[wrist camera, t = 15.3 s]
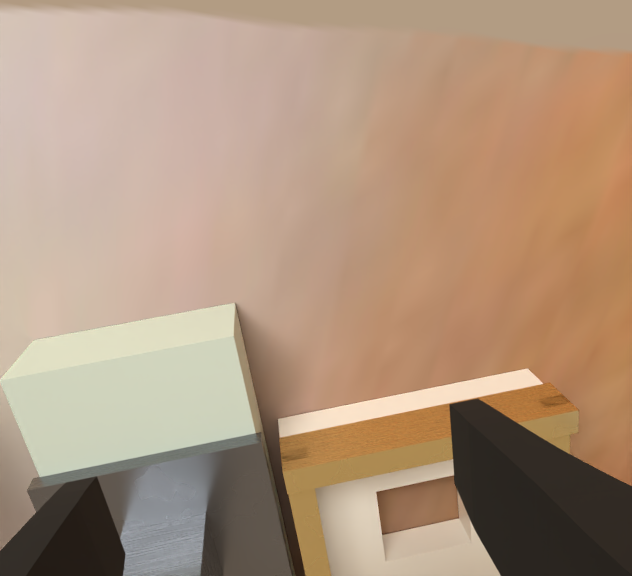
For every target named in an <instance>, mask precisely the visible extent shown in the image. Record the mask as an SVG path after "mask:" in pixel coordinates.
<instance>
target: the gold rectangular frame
mask: <svg viewBox="0 0 632 576" xmlns="http://www.w3.org/2000/svg"><path fill="white" fill-rule="evenodd" d="M477 398H478V399H480V400H481V401H483V402H485V403H486V404H488V405H490V406H491V407H493V408H494V409H496V410H498V411H499V412H501V413H502V414H504V415H505V416H507V417H509V418H510V419H512V420H513V421H515V422H517V423H518V424H520V425H521V426H523V427H525V428H526V429H528V430H529V431H531V432H533V433H534V434H536V435H538V436H539V437H541V438H543V439H544V440H546V441H548V442H549V443H551V444H553V445H555V446H556V447H558V448H560V449H561V450H563V451H565V452H567V453H568V454H570V434H575V433H578V424H579V410H578V409H577V408H576V407H575V406H574V405H573V404H572V403H571V402H570V401H569V400H568V399H567V398H565V397H564V396H563V395H562V394H561V393H560V392H559V391H558V390H557V389H556V388H555V387H554V386H553V385H552V384H551V383H545V384H540V385H536V386H531V387H526V388H521V389H516V390H511V391H506V392H501V393H496V394H491V395H487V396H482V397H477ZM477 398H472V399H477ZM472 399H467V400H472ZM467 400H462V401H457V402H452V403H447V404H442V405H438V406H433V407H428V408H423V409H418V410H413V411H408V412H403V413H398V414H393V415H389V416H384V417H379V418H374V419H369V420H364V421H359V422H354V423H349V424H344V425H340V426H335V427H330V428H325V429H320V430H315V431H310V432H305V433H300V434H296V435H291V436H286V437H281V438H279V441H280V451H281V461H282V471H283V476H284V481H285V486H286V490H287V494H288V495H289V500H290V504H291V509H292V514H293V519H294V523H295V528H296V533H297V537H298V542H299V547H300V552H301V556H302V561H303V566H304V570H305V575H306V576H331V571H330V566H329V561H328V555H327V550H326V545H325V539H324V534H323V529H322V523H321V518H320V513H319V508H318V502H317V497H316V492H315V488H320V487H324V486H329V485H334V484H338V483H343V482H348V481H353V480H357V479H362V478H367V477H372V476H376V475H381V474H386V473H391V472H395V471H400V470H405V469H409V468H414V467H419V466H424V465H428V464H433V463H438V462H443V461H447V460H452V459H453V452H452V438H451V423H450V409H449V404H453V403H458V402H463V401H467Z"/></svg>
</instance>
